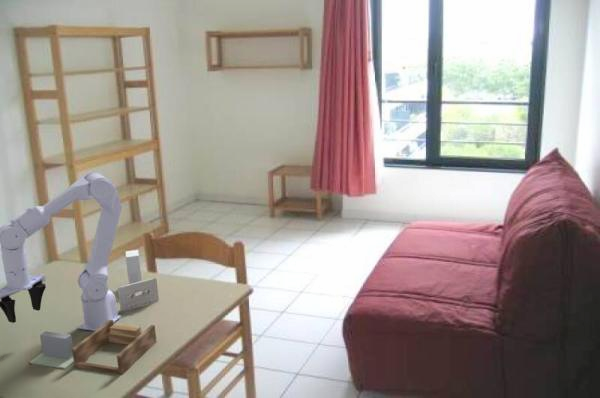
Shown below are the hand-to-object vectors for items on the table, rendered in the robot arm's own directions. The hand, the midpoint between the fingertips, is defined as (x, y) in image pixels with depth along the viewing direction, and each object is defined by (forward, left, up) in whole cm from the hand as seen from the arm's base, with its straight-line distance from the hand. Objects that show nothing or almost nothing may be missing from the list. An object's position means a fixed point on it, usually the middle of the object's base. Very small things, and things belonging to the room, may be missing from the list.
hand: (24, 315), depth 157 cm
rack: (-1, +27, -8) cm, 28 cm away
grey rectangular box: (+4, +13, -8) cm, 16 cm away
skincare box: (-40, +8, -9) cm, 42 cm away
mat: (+4, +13, -8) cm, 16 cm away
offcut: (-7, +26, -9) cm, 28 cm away
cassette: (-28, +17, -9) cm, 34 cm away
